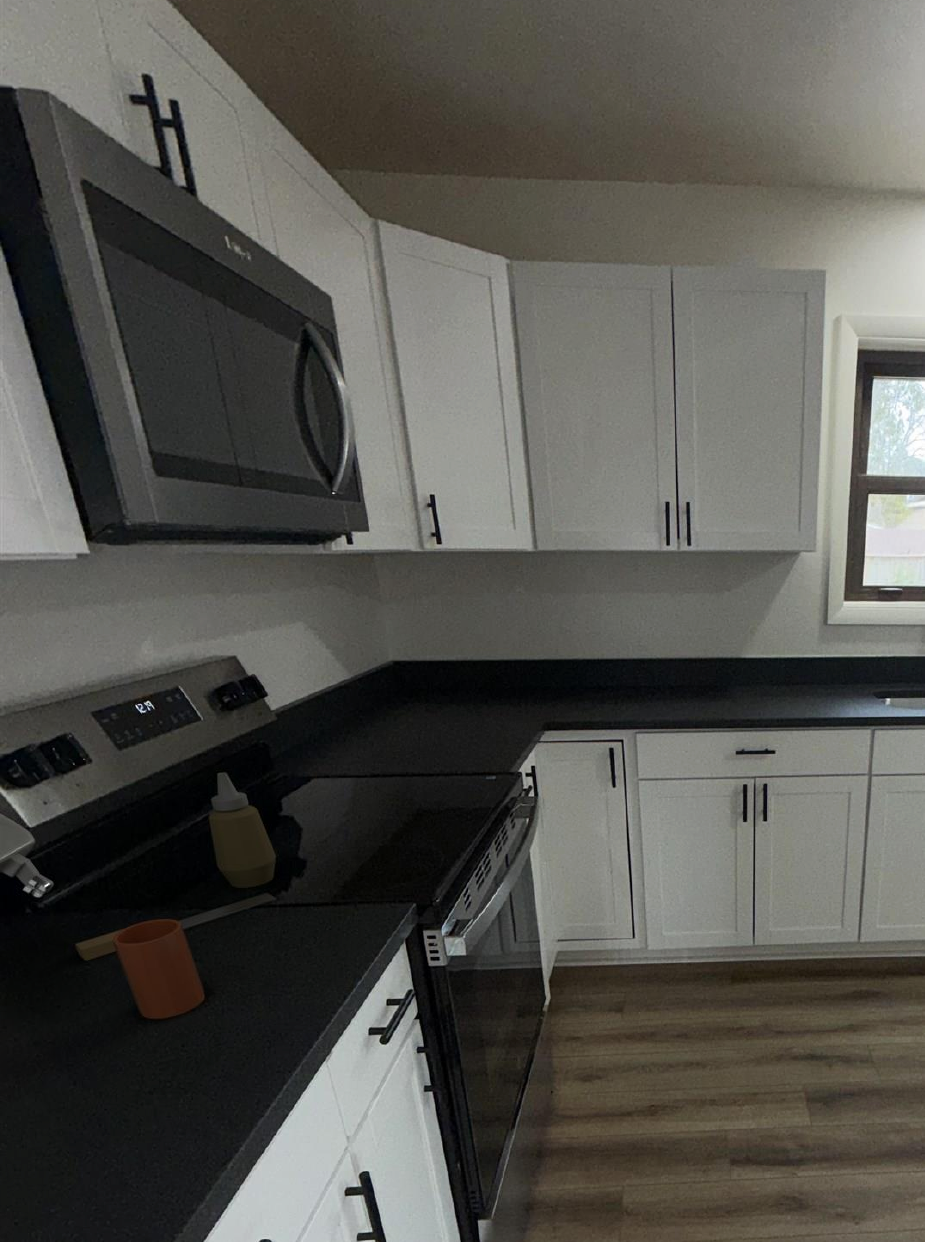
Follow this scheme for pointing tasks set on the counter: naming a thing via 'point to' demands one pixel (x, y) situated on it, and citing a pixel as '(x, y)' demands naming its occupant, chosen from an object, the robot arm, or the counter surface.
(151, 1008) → the cup
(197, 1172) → the counter surface
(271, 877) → the squeeze bottle
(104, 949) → the knife
